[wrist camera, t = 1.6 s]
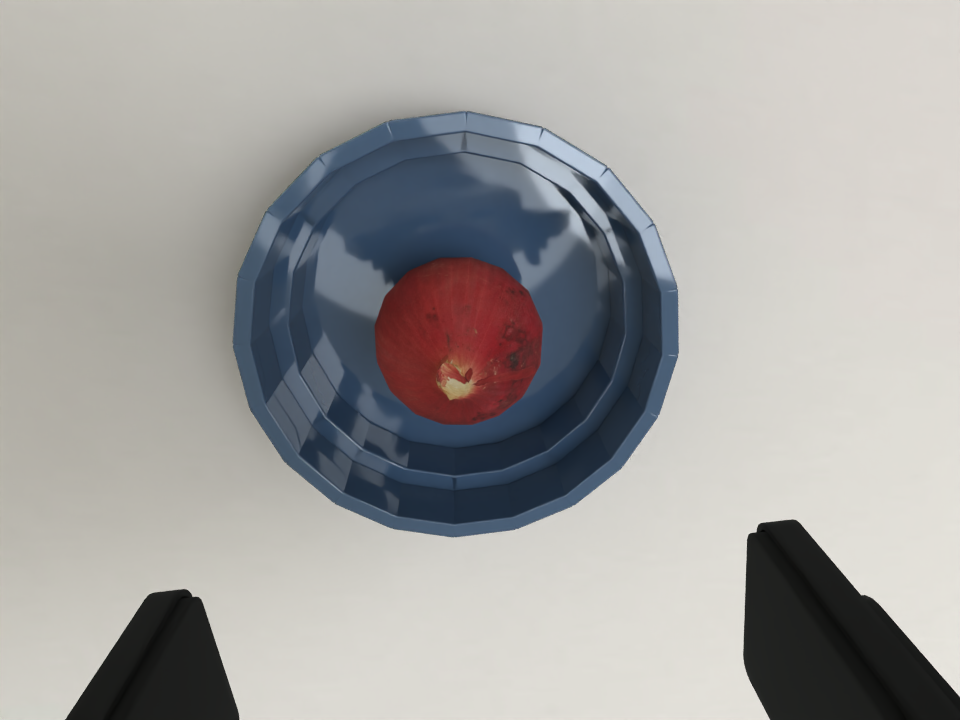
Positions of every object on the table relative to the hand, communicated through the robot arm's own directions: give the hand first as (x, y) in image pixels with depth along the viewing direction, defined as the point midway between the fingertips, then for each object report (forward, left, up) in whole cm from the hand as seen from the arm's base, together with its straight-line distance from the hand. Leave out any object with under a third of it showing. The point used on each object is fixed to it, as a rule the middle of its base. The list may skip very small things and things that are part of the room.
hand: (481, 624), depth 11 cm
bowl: (-1, 0, -17) cm, 17 cm away
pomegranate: (-1, 0, -17) cm, 17 cm away
